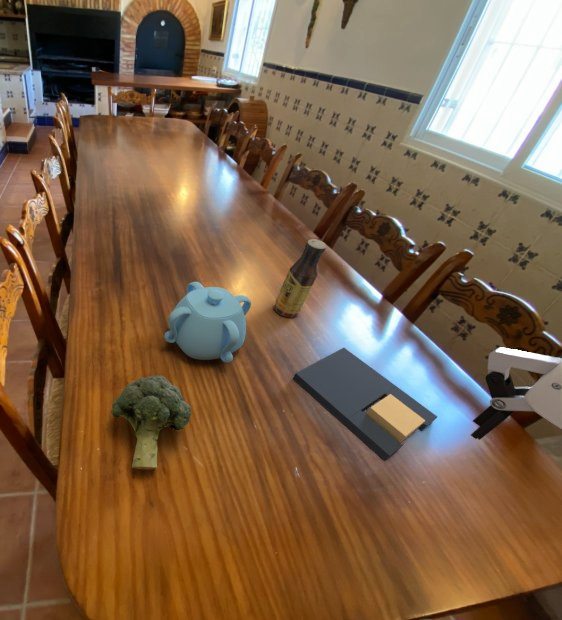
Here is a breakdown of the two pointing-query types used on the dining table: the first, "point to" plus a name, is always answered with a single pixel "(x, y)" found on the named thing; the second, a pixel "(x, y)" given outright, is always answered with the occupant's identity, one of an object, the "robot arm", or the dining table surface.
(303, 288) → the sauce bottle
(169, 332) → the decorative pot
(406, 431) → the pad
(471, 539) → the dining table surface
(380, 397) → the u-shaped block
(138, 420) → the vegetable
